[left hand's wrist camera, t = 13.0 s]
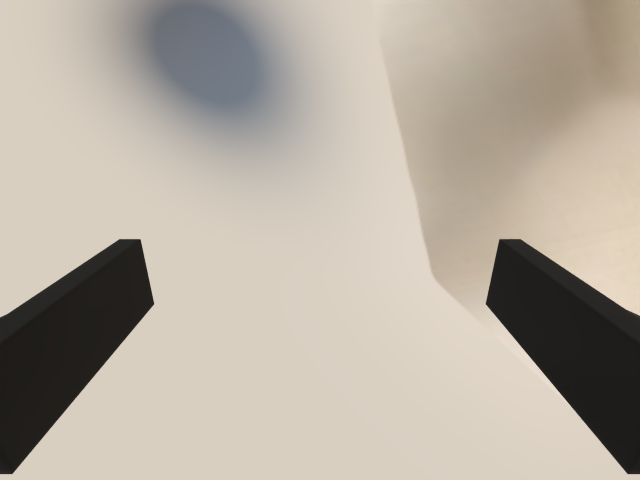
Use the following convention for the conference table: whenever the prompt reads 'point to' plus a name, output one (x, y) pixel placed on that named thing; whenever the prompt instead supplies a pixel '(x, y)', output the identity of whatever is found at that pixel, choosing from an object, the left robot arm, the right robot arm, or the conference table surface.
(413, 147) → the conference table surface
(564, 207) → the conference table surface
